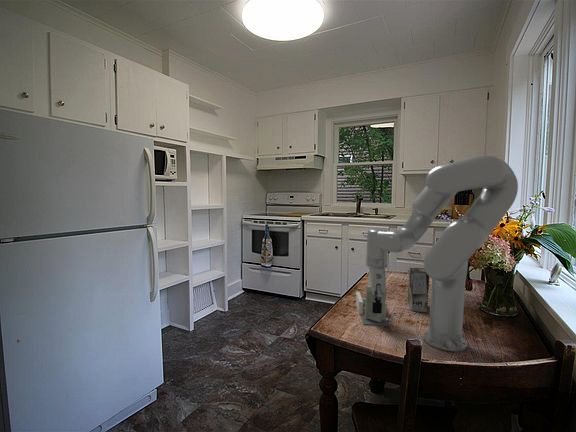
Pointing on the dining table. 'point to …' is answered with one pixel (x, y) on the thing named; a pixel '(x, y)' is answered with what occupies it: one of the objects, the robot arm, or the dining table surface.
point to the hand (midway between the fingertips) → (375, 308)
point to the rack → (362, 301)
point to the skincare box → (369, 305)
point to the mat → (372, 322)
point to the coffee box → (418, 289)
